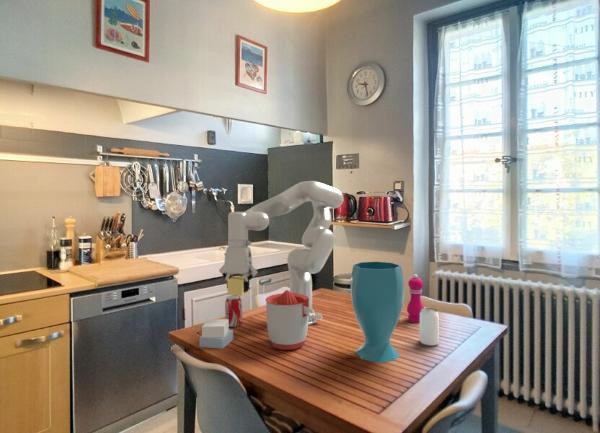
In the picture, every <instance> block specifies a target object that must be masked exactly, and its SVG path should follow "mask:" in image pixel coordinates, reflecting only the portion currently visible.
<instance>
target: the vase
mask: <svg viewBox="0 0 600 433" xmlns="http://www.w3.org/2000/svg"><path fill="white" fill-rule="evenodd" d="M351 270H352V272H351V276H350V296H351V303H352V308H353V313H354V315H355V319H356V321H357V323H358V326H359V328H360V330H361V331H362V334H363V336H364V342H363V343H362V345H361V346H360V347H358V349H356V350H355V352H354V353H355V354H356V355H357V356H359V358H360V359H361V360H363V361H364V360H366V361H370V362H375V363H379V364H380V363H381V364H382V363H386V362H395V361H397V359H398V358H399V357H400V355H401V353H400V352H398V350H397V349H396V348H395V347H394V346H393V345H392V344H391V338H392V336H393V334H394V332H395V330H396V328H397V325H398V323H399V320H400V318H401V314H402V311H403V306H404V300H405V282H404V273H403V269H402V265H401V264H396V263H394V262H386V261H385V262H384V261H361V262H358V263H356V264H353V266H352V269H351Z"/></svg>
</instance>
